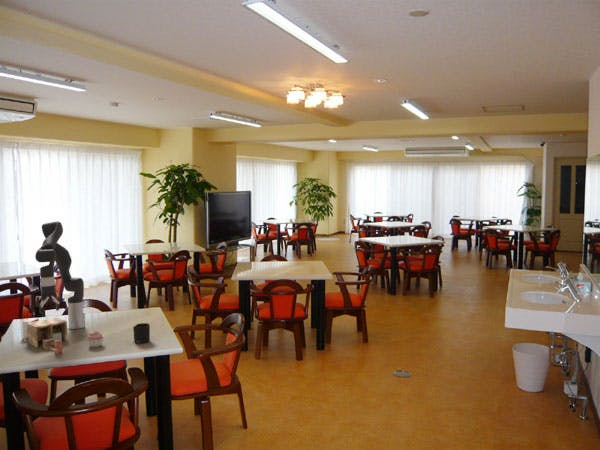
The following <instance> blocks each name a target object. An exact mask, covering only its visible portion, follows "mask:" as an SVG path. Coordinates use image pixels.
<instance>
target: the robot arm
mask: <svg viewBox="0 0 600 450" xmlns="http://www.w3.org/2000/svg"><path fill="white" fill-rule="evenodd" d="M41 231H42V234H43V237H44V238H45V239H44V240H43V242H42V245H41V246H40V247H39V248H38V250H37V251H36V252H35V260H36V262H38V263H48V264H47V265H44V266H41V267H40V269H39V274H40V280H39V281H40V293H41V295H40V296H39V295H36V296H35V301H34V302H35V303H34V304H35V307H37V308H39V313H40V314H41V315H44V314H45V313H44V305H45V304H46V303H51V302H54V303H55V310H56V311H57V312H58V311H60V310H61V309H60V304H61V303H63V294H62V292H60V291H58V292H56V289H57V288H56V280H55V264H56V266H57V269H58V271H59V274H60V277H61V280H62V283H63V284H62V285H63V287H64V289H65V290H66V292H70V293H71V292H72V293H73V296H69V297H68V298H67V313H68V314H67V315H68V316H67V317H68V329H69V330H79V329H83V328H85V327H86V317H85V316H86V315H85V312H84V295H85V293H84V292H85V291H84V289H85V288H84V287H85V283H84V280H83V278H81V277H72V276H71V275H72V274H71V271H70V270H71V269H70V268H71V265H72V262H73V260H72V256H71V255H70V252H69V250H68V249H66V248H65V247H64V246H63V245H61V244H60V243H58V242H59V240H60V239H61V237H62V235H63V233H64V227H63V225H62V223H61V222H60V221H57V220H56V221H51V222H50V221H49V222H46V223H43V224H42V225H41ZM56 297H57V298H58V299H57V298H56ZM40 300H41V301H40Z"/></svg>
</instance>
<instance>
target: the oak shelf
mask: <svg viewBox="0 0 600 450" xmlns="http://www.w3.org/2000/svg"><path fill="white" fill-rule="evenodd" d="M56 331H59V332H61V333H62V341H65V342H67V341H68V321H67V320H65V319H63V318H60V317H58V316H57V317H52V318H46V319H39V321H34V322H29V323H27V336H28V338H27V343H28V344H29V345H32V346H33V347H35V348H38V347H39V343H38V342H39V341H43V339H48V338H53V334H52V332H56Z"/></svg>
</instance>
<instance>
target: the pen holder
mask: <svg viewBox="0 0 600 450" xmlns="http://www.w3.org/2000/svg"><path fill="white" fill-rule="evenodd" d="M132 329H133V341H134V343H135V344H137V345H138V344H139V345H140V344H146V343H149V342H150V338H151V337H150V336H151V335H150V334H151V332H150V330H151V327H150V324H149V323H143V322H140V323H138V324H137V323H136V325H134V326H133V328H132Z"/></svg>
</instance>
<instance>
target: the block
mask: <svg viewBox="0 0 600 450" xmlns="http://www.w3.org/2000/svg"><path fill="white" fill-rule="evenodd" d="M52 334H53V339H55V341H56V340H61V341H63V339H62V333H61V332H59V331H56V332H52Z"/></svg>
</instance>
